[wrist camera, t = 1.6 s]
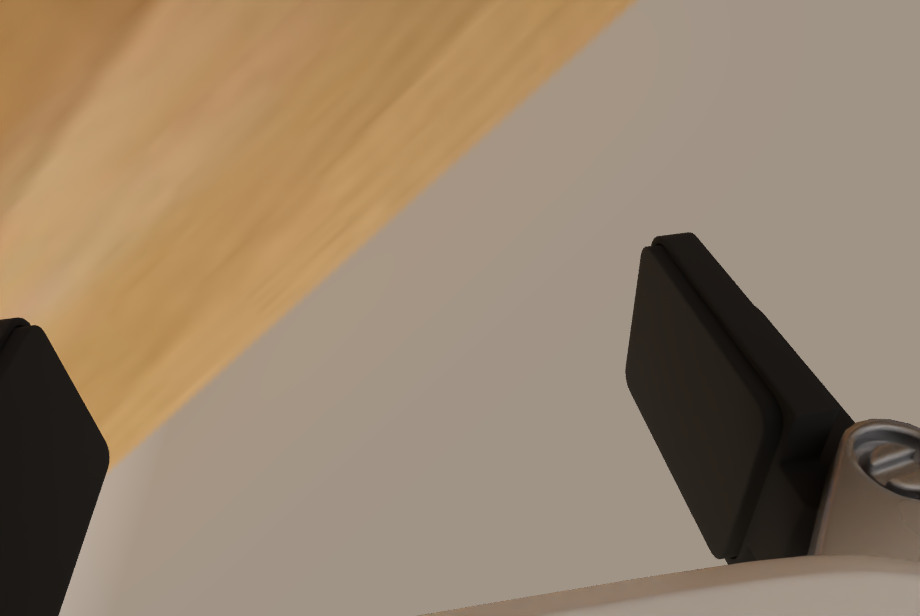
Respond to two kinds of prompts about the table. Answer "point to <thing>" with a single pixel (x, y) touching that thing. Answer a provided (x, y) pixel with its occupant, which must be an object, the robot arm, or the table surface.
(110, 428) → the table surface
